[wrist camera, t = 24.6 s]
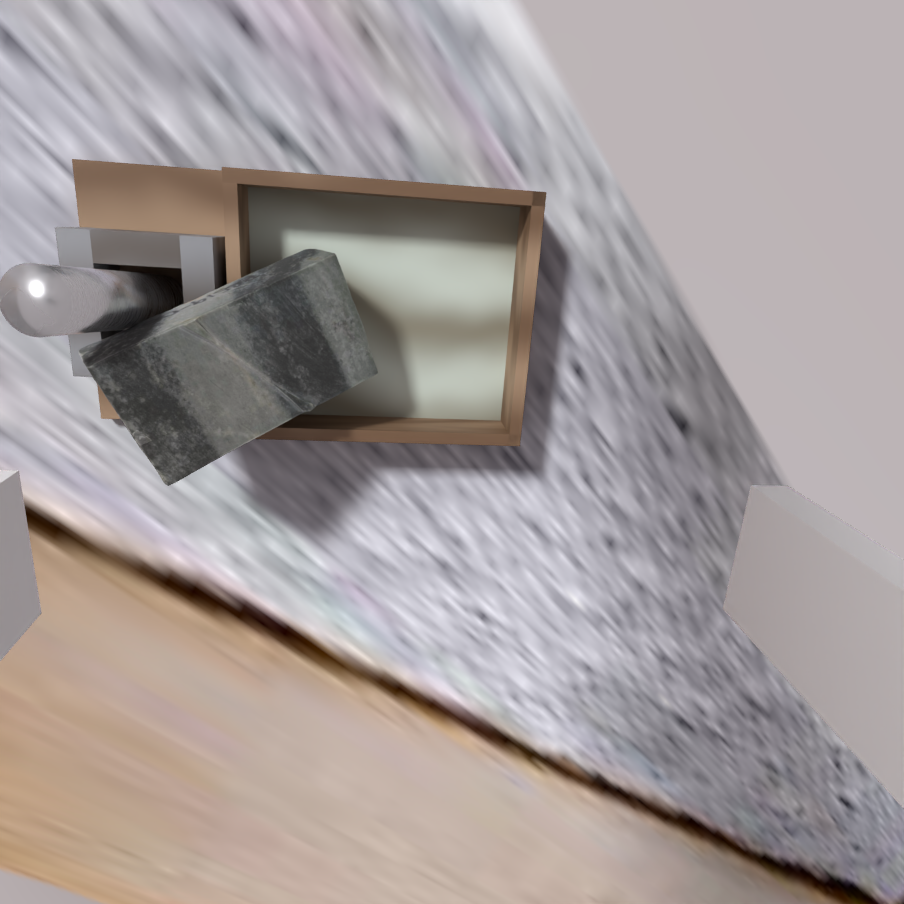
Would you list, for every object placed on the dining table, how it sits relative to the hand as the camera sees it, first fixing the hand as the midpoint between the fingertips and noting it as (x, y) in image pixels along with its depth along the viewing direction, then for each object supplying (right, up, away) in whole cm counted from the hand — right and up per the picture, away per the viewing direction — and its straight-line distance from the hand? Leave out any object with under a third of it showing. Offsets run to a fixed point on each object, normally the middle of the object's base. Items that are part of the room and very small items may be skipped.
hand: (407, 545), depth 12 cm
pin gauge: (-18, +11, +30) cm, 36 cm away
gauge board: (-8, +12, +32) cm, 35 cm away
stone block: (-7, +11, +30) cm, 33 cm away
